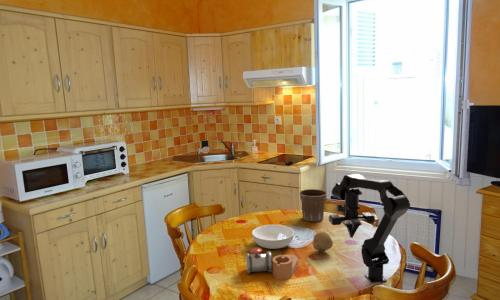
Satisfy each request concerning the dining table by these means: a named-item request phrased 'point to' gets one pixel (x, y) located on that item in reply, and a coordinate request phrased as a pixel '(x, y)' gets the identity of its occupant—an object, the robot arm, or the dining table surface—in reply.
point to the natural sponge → (322, 241)
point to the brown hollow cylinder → (284, 266)
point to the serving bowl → (272, 236)
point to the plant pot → (313, 204)
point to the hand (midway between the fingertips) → (351, 237)
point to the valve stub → (259, 261)
